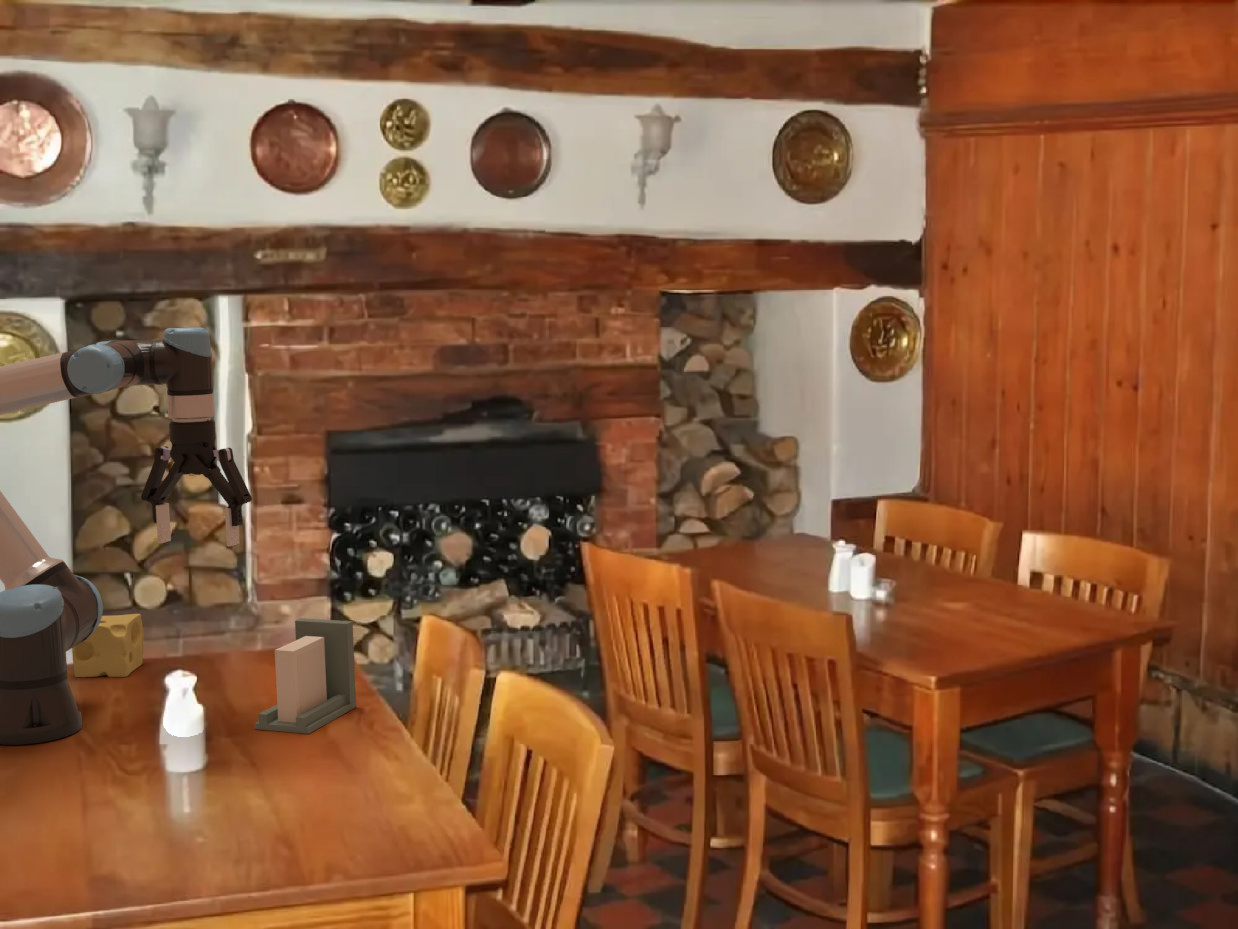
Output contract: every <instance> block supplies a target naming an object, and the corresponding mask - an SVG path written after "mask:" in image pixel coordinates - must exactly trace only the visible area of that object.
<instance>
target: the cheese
mask: <svg viewBox="0 0 1238 929" xmlns="http://www.w3.org/2000/svg"><path fill="white" fill-rule="evenodd" d="M143 627H144V626H143V620H142V615H141V613H129V614H119V615H118V614H116V615H114V614H113V615H102V618H101V621H100V623H99V625H98V627H97V629H96V630H95V631H94V632H93V633H92V634H91V635H90V637H89V638H88V639H87V640H85V641H83V642H82V643H81V644H79V645H77V646H74V647H73V648H71V649H72V651H71V652H72V653H71V654H72V665H73V671H74V672H73V673H74V677H75V678H95V677H101V676H107V677H108V678H109V677H110V678H127V677H128V676H130V674H131V673H132V672H133V671H135V670H136V669H138V668H139V667H141V665H143V659H144V628H143Z"/></svg>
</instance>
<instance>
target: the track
mask: <svg viewBox="0 0 1238 929" xmlns="http://www.w3.org/2000/svg"><path fill="white" fill-rule="evenodd" d="M353 623H354V621H351V620H337V619H335V620H334V619H318V618H305V617H304V618H303V617H300V618H298V619H296V620H294V625H295V626H294V630H295V641H296V640H298V639H300V638H302V637H305V636H314V637H324V647H325V669H326V692H327V701H325V702H323V703H321V704H319V705H318V706H316V707H314V708H312V709H310V710H308V711H306V712H305V713H303V714H301V715H299V716H297V717H296V723H293V722H281V721H278V708H277V704H275V705H273V706H271V707H269V708H267V709H266V710H263V711H261V712H260V713H258V714H257V715H258V717H257V718H258V720H257V721H256V722H254V730H261V731H271V732H273V731H274V732H282V733H283V732H286V733H294V734H295V733H296V734H305V735H306V734H308V735H309V734H311V733H312V732H314V731H316V730H318V729H320V728H323V727H324V726H325V725H327V724H329V723H330V722H332V721H334V720H336V719H338V718H340V717H341V716H343V715H345V714H347V713H348V712H350V711H352V710H353V709H355V708H357V697H356V695H357V694H356V693H357V692H356V673H355V671H356V669H355V668H356V667H355V648H354V646H355V645H354V626H353Z"/></svg>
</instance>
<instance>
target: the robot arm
mask: <svg viewBox="0 0 1238 929" xmlns="http://www.w3.org/2000/svg"><path fill="white" fill-rule="evenodd" d="M210 337H211V336H210V333H209V331H208V330H207V329H206V328H204V327H198V326H197V327H192V326H189V327H169V328H166V329H165V330H164V331H163V337H162V339H155V340H119V339H114V340H112V339H111V340H108V341H105V340H104V341H98V342H96V343H95V344H88V345H85V346H83V347H81V348H78V349H77V348H76V349H71V350H69V351H63V352H59V353H53V354H50V355H46V356H42V357H41V356H40V357H37V358H33V359H32V358H31V359H27V360H24V361H18V362H14V363H10V364H5V365H1V366H0V415H1V416H2V415H6V414H9V413H14V412H19V411H23V410H27V409H33V408H37V407H41V406H45V405H50V404H54V403H58V402H62V401H67V400H71V399H77V398H82V397H86V396H91V395H95V394H96V395H97V394H102V393H103V394H104V393H106V392H110V391H112V390H116V389H123V388H127V387H131V386H151V385H158V386H159V385H160V386H161V385H162V386H163V385H165V386H166V394H167V395H166V397H167V400H166V401H167V417H168V418H169V419H170V420H171V421H170V422H169V423H168V431H169V434H168V435H169V442H170V443H171V448H169V446H167V445H165V446H160V447H156V448H155V449H154V461H153V463H152V465H151V469H150V472H149V474H148V477H147V479H146V483H145V485H144V487H143V491H142V493H141V496H140V497H141V498H140V499H141V500H142V501H147V502H149V503H150V504H151V507H152V510H151V511H152V520H153V523H154V524H156V530H157V532H156V533H157V534H156V535H157V544H164V543H167V542H171V541H172V537H171V536H172V535H171V519H170V518H171V517H170V516H171V515H170V503H168V502H167V498H168V497H169V495H170V494H171V492H172V491H173V489H174V488H175V487H176V485H177V484H178V483H179V481H180V479H181V478H182V477H183V475H191V474H192V475H196V476H200V475H202V476H204V478H206V479H207V480H209V482H210V483H211V485H212V486H213V487H214V488H215V490H216V491H217V492H218V493H219V494H220V496H221V497H222V498H223V500H224V501H225V502H226V504H227V505H228V506H227V507H225V508H224V518H225V519H224V520H225V533H226V534H225V538H226V547H234V546H237V545H240V543H241V542H240V529H239V528H240V527H239V526H241V525H242V524H243V510H242V507H243V505H245V504H247V503H251V502H252V500H253V497H252V496H251V495H252V494H251V492H250V491H249V489H248V487H247V485H246V483H245V480H244V478H243V476H242V474H241V472H240V470H239V467H238V466H237V464H236V462H235V459H234V454H233V453H234V452H233V448H231V447H225V448H220V449H217V448H216V445H215V443H216V439H217V438H216V437H217V436H216V433H217V432H216V421H214V419H212V418H213V417H214V416H215V402H214V386H213V384H214V383H213V382H214V381H213V362H212V361H213V358H212V357H213V352H212V347H211V340H210ZM170 459H172V461H173V462H174V463H173V464H172V465H171V466H170V468H169V470H168V474H167V475H166V477H165V478H164V475H165V471H166V469H167V467H168V464H169V461H170ZM216 460H217V461H218V462H219V464H220V465H219V466H220V467H221V468H220V467H219V466H218V464H217V463H216ZM221 470H222V471H223V473H224V475H223V473H222V472H221ZM163 478H164V479H163ZM162 480H163V481H162ZM0 581H1V582H2V584H3V585H4V590H3V591H0V745H12V746H13V745H14V746H15V745H16V746H17V745H19V746H20V745H32V744H38V743H46V742H50V741H55V740H59V739H63V738H66V737H68V736H71V735H74V734H75V733H77V732H79V731H80V730H81V729H82V727H83V726H82V725H83V720H82V712H81V710H80V708H79V707H78V706H77V705H78V704H77V703H76V700H75V699H76V698H75V697H74V695H73V691H72V689H71V687H70V684H69V680H68V666H67V665H68V664H67V662H68V661H67V652H68V651H70V650H71V649H72V648H73V647H74V646H77V645H79V644H81V643H82V642H83V641H85V640H87V639H88V638H89V637H90V635H91V634H92V633H93V632H94V631H95V630H96V629H97V627H98V625H99V623H100V621H101V618H102V616H103V613H104V612H103V611H104V605H103V604H104V603H103V600H102V597H101V596H102V595H101V594H100V592H99V590H98V588H97V587H96V585H95V584H93V582H91V581H90V580H89V579H87V578H85V577H82V576H79V575H77V574H74V572H73V571H72V569H70V567H68V565H67V564H66V562H65V561H64V560H63V559H62V558H54V557H51V556H49V555H48V553H47V552H46V551H45V549H44V548H43V546H42V545H41V544H40V542H39V541H38V540H37V539H36V537H35V535H34V534H33V533H32V532H31V530H30V529H29V528H28V526H27V525H26V524H25V521H23V518H21V517H20V515H19V514H18V513H17V511H16V509H15V508H14V507H13V506H12V505H11V503H10V502H9V500H8V499H7V498H6V496H5V495H4V493H3V492H2V491H1V490H0Z"/></svg>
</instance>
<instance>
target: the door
mask: <svg viewBox="0 0 1238 929" xmlns="http://www.w3.org/2000/svg"><path fill="white" fill-rule="evenodd" d="M274 664H275V667H274V668H275V682H276V686H275V687H276V702H277V703H276V705H277V708H278V721H281V722H293V723H296V717H297V716H299V715H301V714H303V713H305V712H306V711H308V710H310V709H312V708H314V707H316V706H318V705H319V704H321V703H323V702H325V701H327V692H326V669H325V647H324V637H314V636H305V637H302V638H300V639H298V640H296V639H295V640H293V641H292V642H289V643H287V644H284V645H283V646H281V647H278V648H276V649H274Z"/></svg>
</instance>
